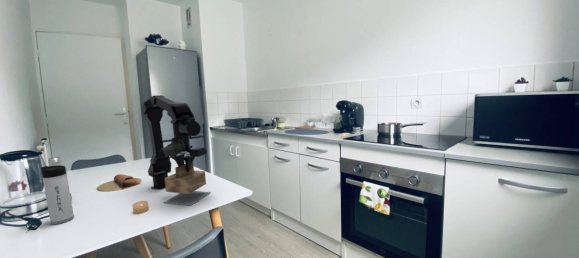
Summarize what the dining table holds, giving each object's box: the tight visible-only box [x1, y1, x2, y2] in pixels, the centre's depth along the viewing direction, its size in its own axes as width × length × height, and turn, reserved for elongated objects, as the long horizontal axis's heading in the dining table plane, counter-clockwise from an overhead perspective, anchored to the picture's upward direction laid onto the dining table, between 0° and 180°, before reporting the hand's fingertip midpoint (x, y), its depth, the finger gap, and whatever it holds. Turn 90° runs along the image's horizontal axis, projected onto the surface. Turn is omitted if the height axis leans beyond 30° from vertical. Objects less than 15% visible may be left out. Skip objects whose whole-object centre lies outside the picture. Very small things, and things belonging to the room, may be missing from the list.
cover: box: [165, 162, 207, 194], centre depth 105 cm, size 11×11×10 cm
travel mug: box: [40, 165, 75, 225], centre depth 90 cm, size 6×7×20 cm
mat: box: [163, 190, 211, 207], centre depth 106 cm, size 13×13×1 cm
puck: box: [131, 200, 149, 215], centre depth 96 cm, size 5×5×3 cm
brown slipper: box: [113, 173, 141, 189], centre depth 131 cm, size 18×7×7 cm
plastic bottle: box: [47, 156, 73, 202], centre depth 104 cm, size 6×7×20 cm
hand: (185, 171), depth 105 cm, fingers closed on cover, 2 cm apart
